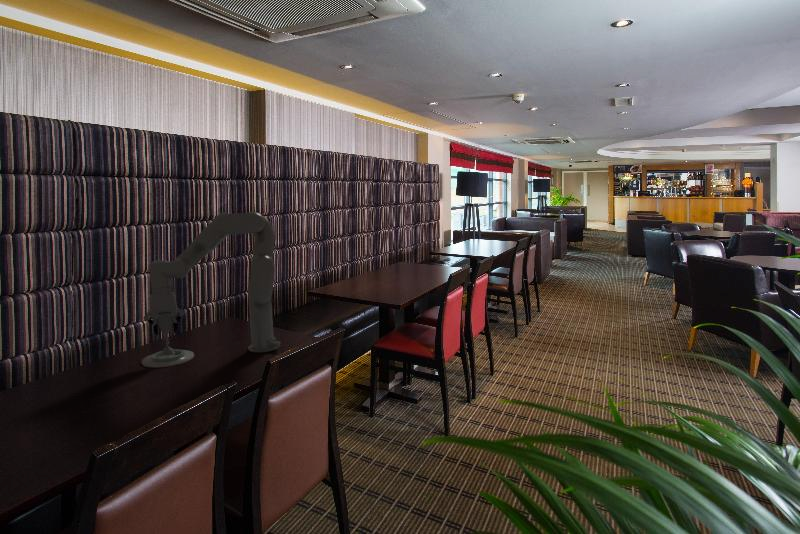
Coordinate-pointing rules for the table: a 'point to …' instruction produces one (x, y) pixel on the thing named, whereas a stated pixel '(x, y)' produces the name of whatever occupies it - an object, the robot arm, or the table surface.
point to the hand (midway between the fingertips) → (166, 332)
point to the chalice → (166, 331)
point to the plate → (158, 365)
